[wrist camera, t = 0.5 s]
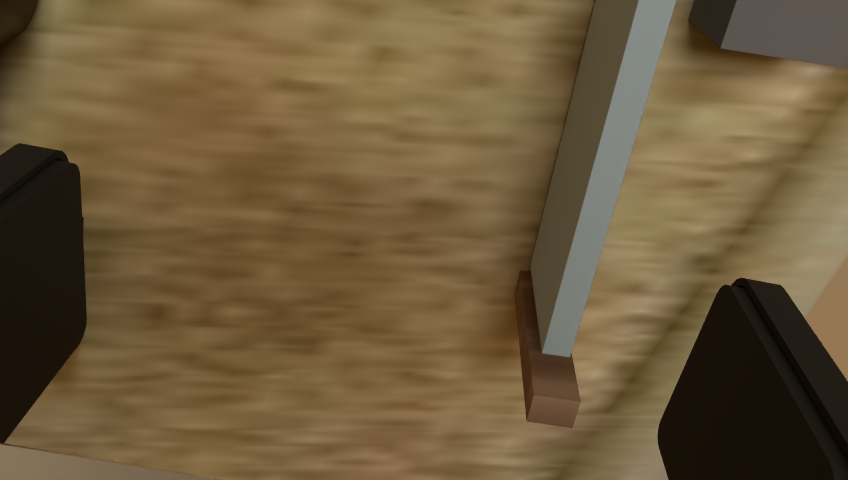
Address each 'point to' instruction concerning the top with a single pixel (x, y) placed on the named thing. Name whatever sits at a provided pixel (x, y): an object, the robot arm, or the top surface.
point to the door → (593, 159)
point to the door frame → (543, 367)
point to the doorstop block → (778, 28)
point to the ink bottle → (14, 17)
